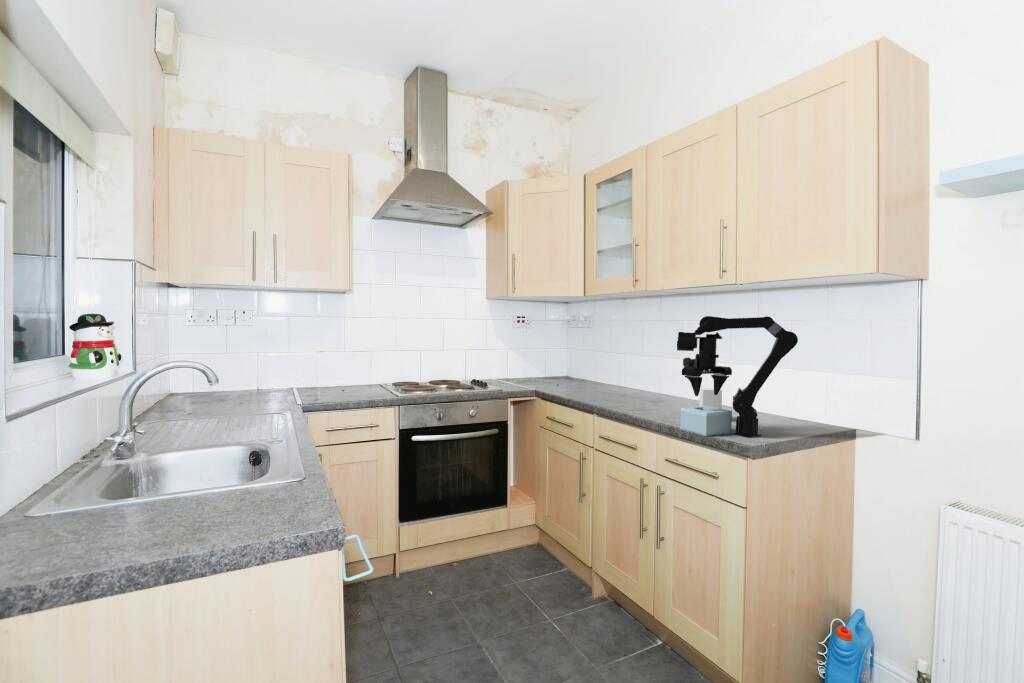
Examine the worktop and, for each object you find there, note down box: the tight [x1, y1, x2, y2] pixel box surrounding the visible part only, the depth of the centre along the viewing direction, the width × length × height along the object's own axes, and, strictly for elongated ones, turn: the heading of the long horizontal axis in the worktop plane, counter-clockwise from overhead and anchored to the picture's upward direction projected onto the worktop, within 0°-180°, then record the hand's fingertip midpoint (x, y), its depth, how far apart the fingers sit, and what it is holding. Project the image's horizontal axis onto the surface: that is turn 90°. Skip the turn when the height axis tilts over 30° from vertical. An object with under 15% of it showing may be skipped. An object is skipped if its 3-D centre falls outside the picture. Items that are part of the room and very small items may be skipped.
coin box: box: [679, 405, 733, 438], centre depth 181 cm, size 12×12×8 cm
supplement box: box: [698, 387, 723, 409], centre depth 203 cm, size 7×7×13 cm
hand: (706, 395), depth 181 cm, fingers open, 9 cm apart
